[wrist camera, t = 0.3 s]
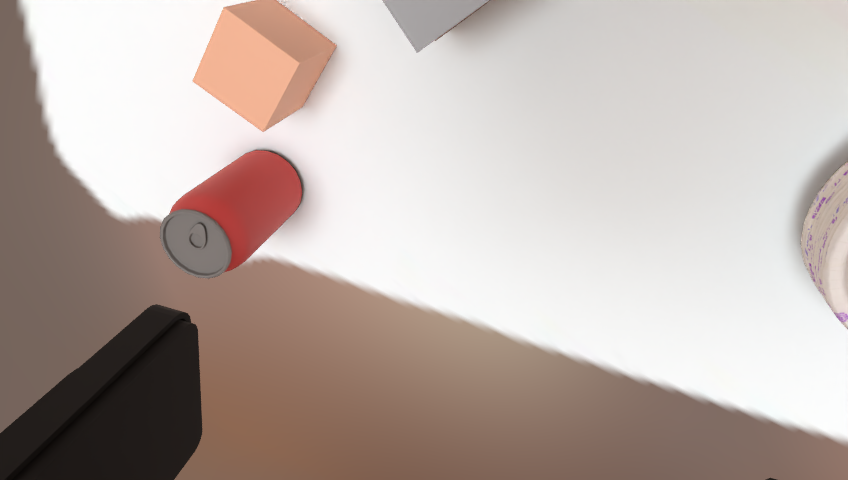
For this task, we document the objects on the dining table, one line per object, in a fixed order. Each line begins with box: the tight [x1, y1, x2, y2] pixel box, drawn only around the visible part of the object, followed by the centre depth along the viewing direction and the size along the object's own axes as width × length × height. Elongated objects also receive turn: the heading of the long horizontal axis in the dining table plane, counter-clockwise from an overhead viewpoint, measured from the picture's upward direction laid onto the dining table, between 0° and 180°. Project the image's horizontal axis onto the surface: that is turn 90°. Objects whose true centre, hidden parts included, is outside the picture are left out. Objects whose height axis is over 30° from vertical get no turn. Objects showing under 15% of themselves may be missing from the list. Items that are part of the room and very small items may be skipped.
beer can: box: [160, 150, 302, 278], centre depth 46 cm, size 7×7×12 cm
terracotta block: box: [193, 0, 337, 132], centre depth 43 cm, size 6×6×7 cm
